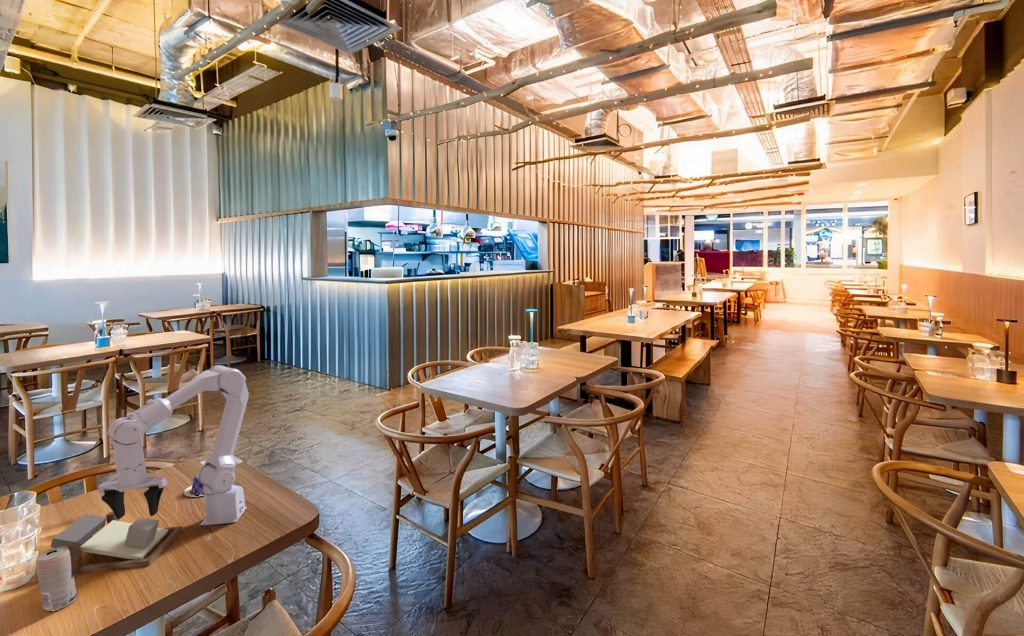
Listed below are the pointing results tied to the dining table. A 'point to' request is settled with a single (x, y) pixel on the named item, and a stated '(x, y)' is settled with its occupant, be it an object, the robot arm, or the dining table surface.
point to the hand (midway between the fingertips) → (137, 515)
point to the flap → (103, 537)
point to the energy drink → (56, 578)
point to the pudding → (195, 487)
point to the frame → (79, 568)
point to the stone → (141, 533)
